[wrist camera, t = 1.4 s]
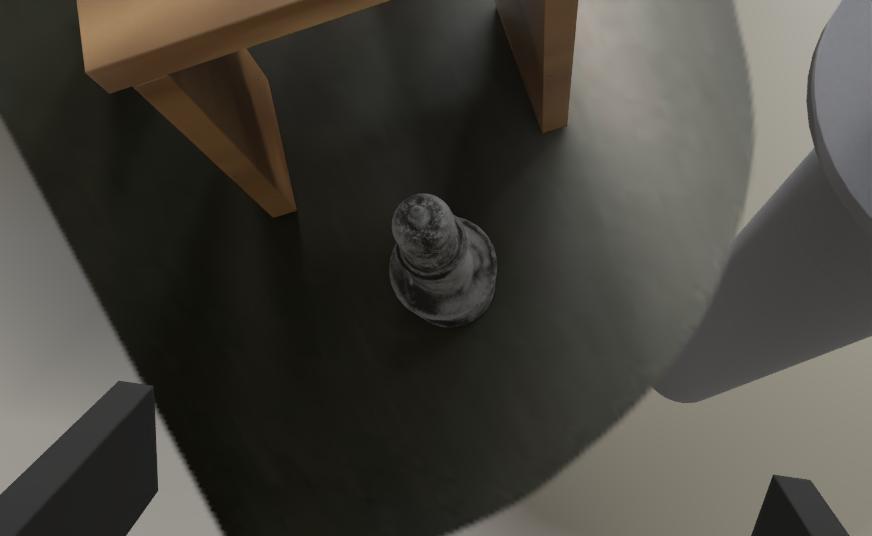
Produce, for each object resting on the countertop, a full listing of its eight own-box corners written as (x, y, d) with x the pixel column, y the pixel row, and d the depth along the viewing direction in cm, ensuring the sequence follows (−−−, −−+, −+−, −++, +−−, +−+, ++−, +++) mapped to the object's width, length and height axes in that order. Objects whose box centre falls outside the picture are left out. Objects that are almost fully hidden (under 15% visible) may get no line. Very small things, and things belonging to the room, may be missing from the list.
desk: (583, 120, 41) (613, -105, 25) (258, 223, 42) (84, 72, 26) (533, -8, 44) (531, -283, 28) (232, 91, 45) (62, -117, 29)
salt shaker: (495, 230, 39) (479, 136, 28) (505, 327, 38) (492, 269, 26) (398, 241, 40) (344, 154, 29) (404, 337, 38) (348, 284, 27)
